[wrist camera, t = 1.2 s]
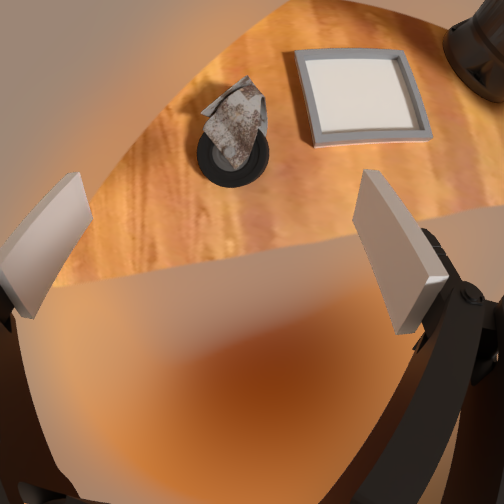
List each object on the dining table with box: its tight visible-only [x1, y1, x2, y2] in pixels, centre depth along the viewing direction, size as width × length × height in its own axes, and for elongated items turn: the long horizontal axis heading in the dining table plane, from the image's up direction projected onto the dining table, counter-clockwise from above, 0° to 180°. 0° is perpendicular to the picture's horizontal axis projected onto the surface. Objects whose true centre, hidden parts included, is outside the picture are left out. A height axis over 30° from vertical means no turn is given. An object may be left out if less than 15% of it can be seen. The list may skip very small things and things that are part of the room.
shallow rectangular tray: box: [295, 48, 433, 148], centre depth 33 cm, size 16×14×2 cm
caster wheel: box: [197, 75, 269, 188], centre depth 33 cm, size 7×11×10 cm
